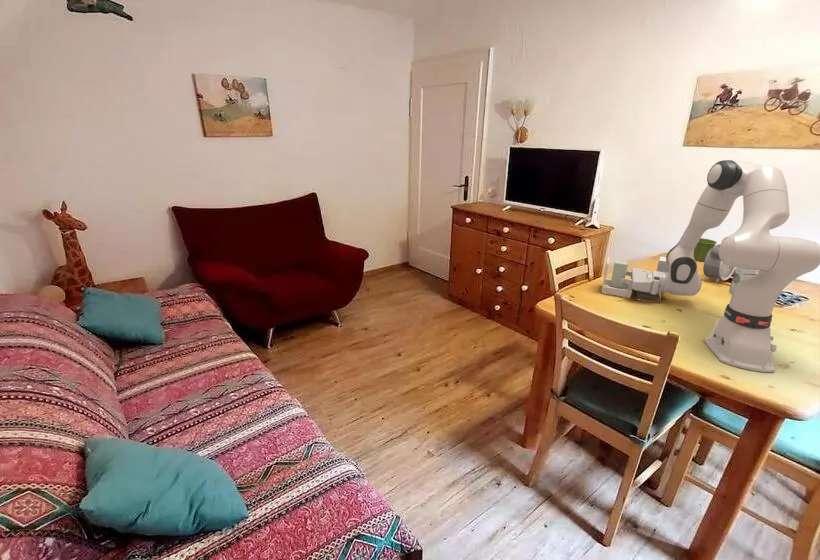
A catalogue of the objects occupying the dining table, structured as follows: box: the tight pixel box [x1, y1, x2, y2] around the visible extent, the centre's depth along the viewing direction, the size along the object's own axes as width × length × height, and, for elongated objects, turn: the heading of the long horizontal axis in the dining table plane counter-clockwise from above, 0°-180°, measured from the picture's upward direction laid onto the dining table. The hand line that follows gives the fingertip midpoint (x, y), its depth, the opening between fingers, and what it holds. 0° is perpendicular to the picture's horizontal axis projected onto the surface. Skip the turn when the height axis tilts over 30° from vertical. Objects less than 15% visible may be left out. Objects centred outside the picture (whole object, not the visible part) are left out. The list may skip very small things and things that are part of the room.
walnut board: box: [635, 290, 662, 304], centre depth 180 cm, size 11×9×1 cm
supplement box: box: [656, 256, 669, 273], centre depth 192 cm, size 7×7×13 cm
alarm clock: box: [702, 236, 736, 284], centre depth 196 cm, size 16×9×22 cm, turn 120°
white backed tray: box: [601, 256, 633, 299], centre depth 183 cm, size 12×12×14 cm
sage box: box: [610, 259, 629, 289], centre depth 183 cm, size 5×5×14 cm
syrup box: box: [728, 267, 758, 294], centre depth 181 cm, size 6×6×14 cm
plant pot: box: [694, 237, 718, 263], centre depth 228 cm, size 12×12×11 cm
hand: (619, 276), depth 182 cm, fingers open, 8 cm apart
